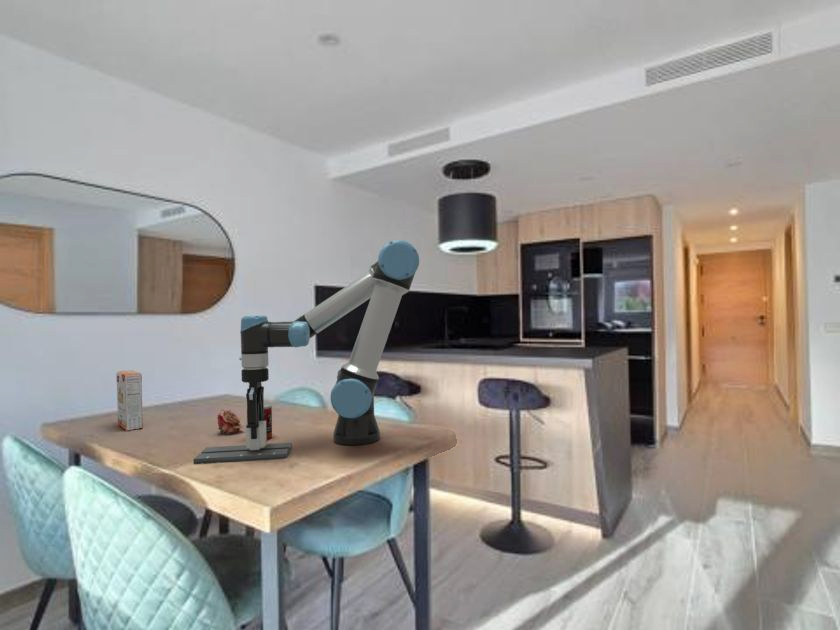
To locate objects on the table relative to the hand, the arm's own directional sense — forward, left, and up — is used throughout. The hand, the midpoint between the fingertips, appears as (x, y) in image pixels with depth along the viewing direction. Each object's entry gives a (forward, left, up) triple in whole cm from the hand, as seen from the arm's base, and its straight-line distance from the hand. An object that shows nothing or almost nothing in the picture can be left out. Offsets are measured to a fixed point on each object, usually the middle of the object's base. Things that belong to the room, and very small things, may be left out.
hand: (256, 447), depth 139 cm
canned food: (+3, -19, -2) cm, 19 cm away
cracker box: (+56, -48, -2) cm, 74 cm away
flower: (+15, -30, -2) cm, 33 cm away
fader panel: (+3, 0, -2) cm, 4 cm away
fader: (0, 0, -2) cm, 2 cm away
